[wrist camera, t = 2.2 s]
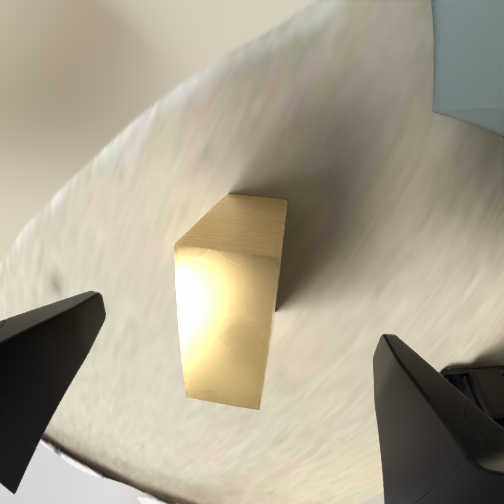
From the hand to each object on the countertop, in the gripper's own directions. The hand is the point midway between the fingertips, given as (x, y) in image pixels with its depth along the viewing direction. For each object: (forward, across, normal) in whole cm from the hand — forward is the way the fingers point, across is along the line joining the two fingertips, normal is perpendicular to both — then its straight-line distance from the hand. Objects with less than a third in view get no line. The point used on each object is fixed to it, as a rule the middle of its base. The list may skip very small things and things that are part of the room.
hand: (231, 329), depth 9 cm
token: (+5, 0, 0) cm, 5 cm away
